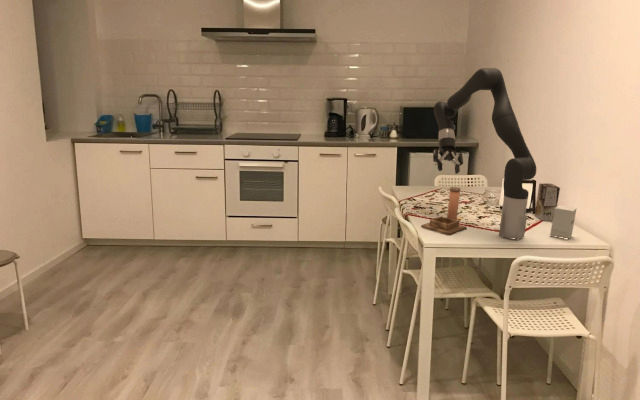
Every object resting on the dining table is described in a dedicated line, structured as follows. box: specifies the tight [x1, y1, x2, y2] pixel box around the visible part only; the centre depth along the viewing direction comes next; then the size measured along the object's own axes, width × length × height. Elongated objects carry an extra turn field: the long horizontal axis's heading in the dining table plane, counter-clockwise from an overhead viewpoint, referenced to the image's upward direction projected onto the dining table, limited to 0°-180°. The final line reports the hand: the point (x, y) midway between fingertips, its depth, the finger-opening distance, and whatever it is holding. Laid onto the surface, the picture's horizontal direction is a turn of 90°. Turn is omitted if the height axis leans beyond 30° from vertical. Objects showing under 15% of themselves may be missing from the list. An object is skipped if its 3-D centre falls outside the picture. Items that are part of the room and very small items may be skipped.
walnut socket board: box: [420, 215, 468, 236], centre depth 225 cm, size 14×14×4 cm
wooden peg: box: [446, 186, 461, 221], centre depth 235 cm, size 5×5×15 cm
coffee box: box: [534, 182, 561, 222], centre depth 245 cm, size 9×6×16 cm
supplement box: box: [550, 204, 577, 239], centre depth 219 cm, size 7×7×13 cm
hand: (448, 171), depth 239 cm, fingers open, 8 cm apart
